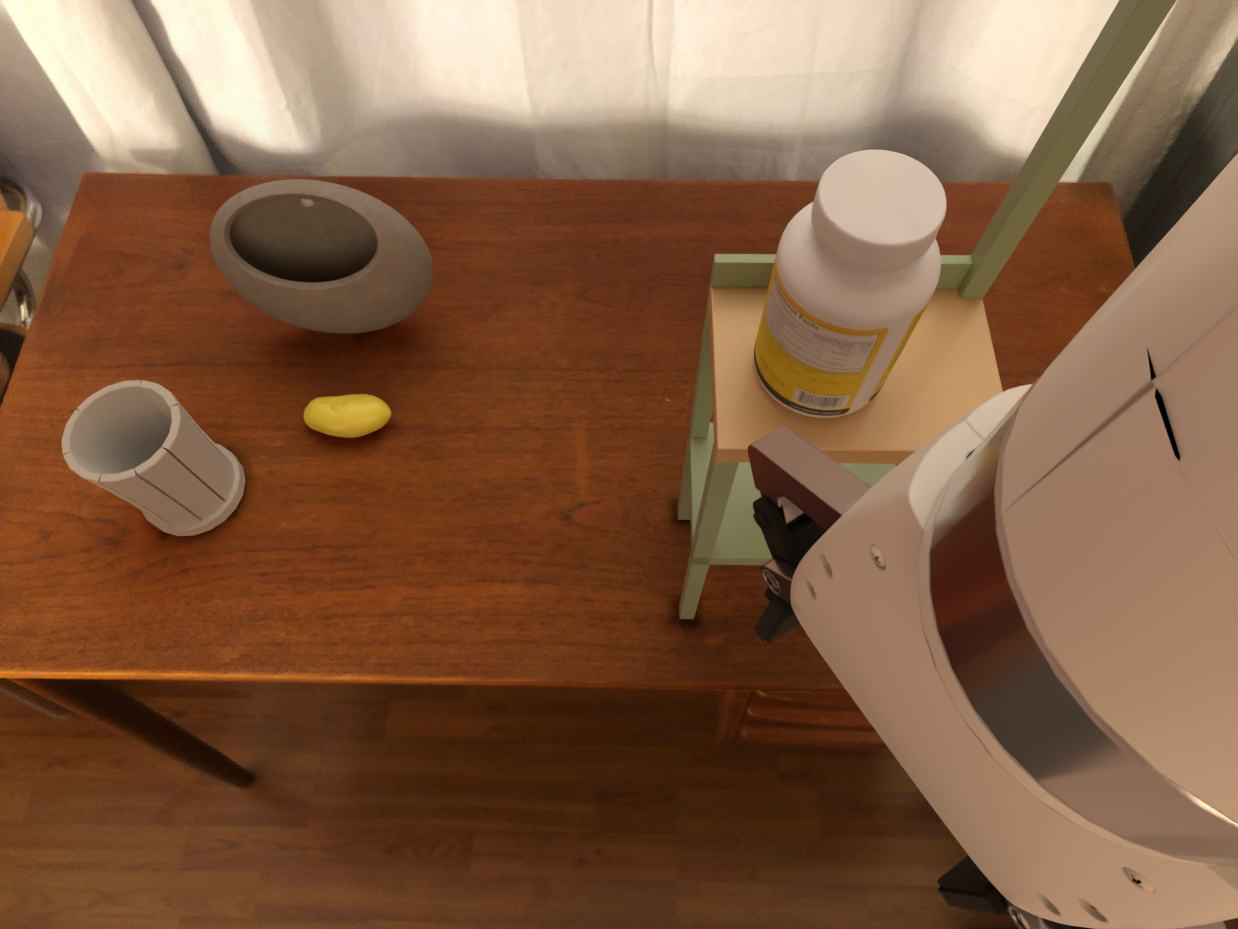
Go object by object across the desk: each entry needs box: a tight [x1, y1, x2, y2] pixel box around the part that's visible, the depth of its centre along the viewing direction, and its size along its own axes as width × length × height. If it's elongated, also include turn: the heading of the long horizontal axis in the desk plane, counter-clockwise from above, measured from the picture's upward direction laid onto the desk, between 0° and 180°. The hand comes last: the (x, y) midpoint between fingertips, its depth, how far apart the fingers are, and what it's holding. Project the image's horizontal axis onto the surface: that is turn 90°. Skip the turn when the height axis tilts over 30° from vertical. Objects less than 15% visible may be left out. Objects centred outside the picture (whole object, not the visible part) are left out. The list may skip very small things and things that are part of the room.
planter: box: [209, 178, 435, 334], centre depth 71 cm, size 18×7×19 cm, turn 94°
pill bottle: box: [754, 149, 947, 418], centre depth 34 cm, size 6×6×12 cm
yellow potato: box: [302, 393, 392, 439], centre depth 72 cm, size 4×8×4 cm, turn 87°
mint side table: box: [677, 0, 1177, 620], centre depth 43 cm, size 10×14×55 cm
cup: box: [60, 379, 246, 537], centre depth 66 cm, size 10×9×12 cm
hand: (878, 732), depth 27 cm, fingers open, 9 cm apart
